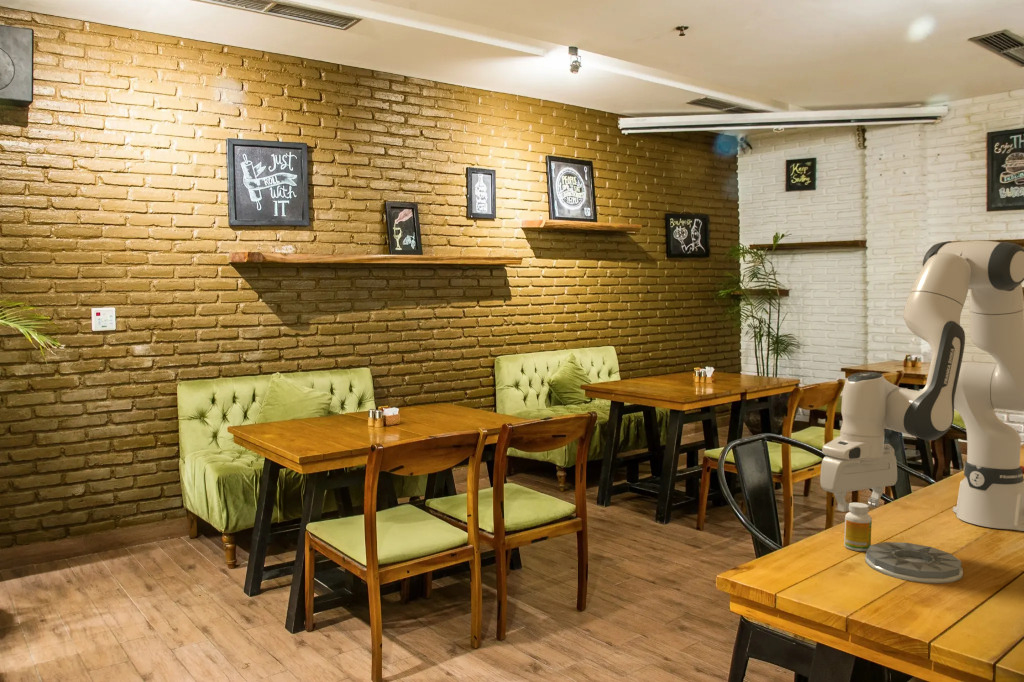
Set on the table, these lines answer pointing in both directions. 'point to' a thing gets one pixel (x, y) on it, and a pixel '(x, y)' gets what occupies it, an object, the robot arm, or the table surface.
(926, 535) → the table surface
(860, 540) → the supplement bottle
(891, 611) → the table surface
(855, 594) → the table surface
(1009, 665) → the table surface
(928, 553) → the grey faceted round plate
